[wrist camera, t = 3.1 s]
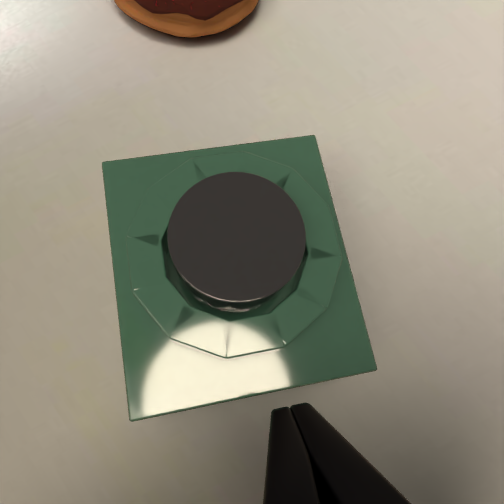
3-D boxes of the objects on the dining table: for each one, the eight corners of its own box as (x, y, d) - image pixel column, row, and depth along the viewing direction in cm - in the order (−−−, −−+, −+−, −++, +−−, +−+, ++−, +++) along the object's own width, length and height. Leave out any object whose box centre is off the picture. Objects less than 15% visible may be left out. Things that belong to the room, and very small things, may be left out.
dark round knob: (308, 299, 15) (320, 289, 13) (181, 323, 14) (177, 314, 13) (282, 185, 16) (290, 163, 14) (164, 202, 16) (158, 181, 14)
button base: (333, 374, 22) (398, 368, 14) (153, 411, 20) (117, 427, 13) (290, 194, 24) (325, 108, 17) (129, 218, 23) (88, 136, 16)
